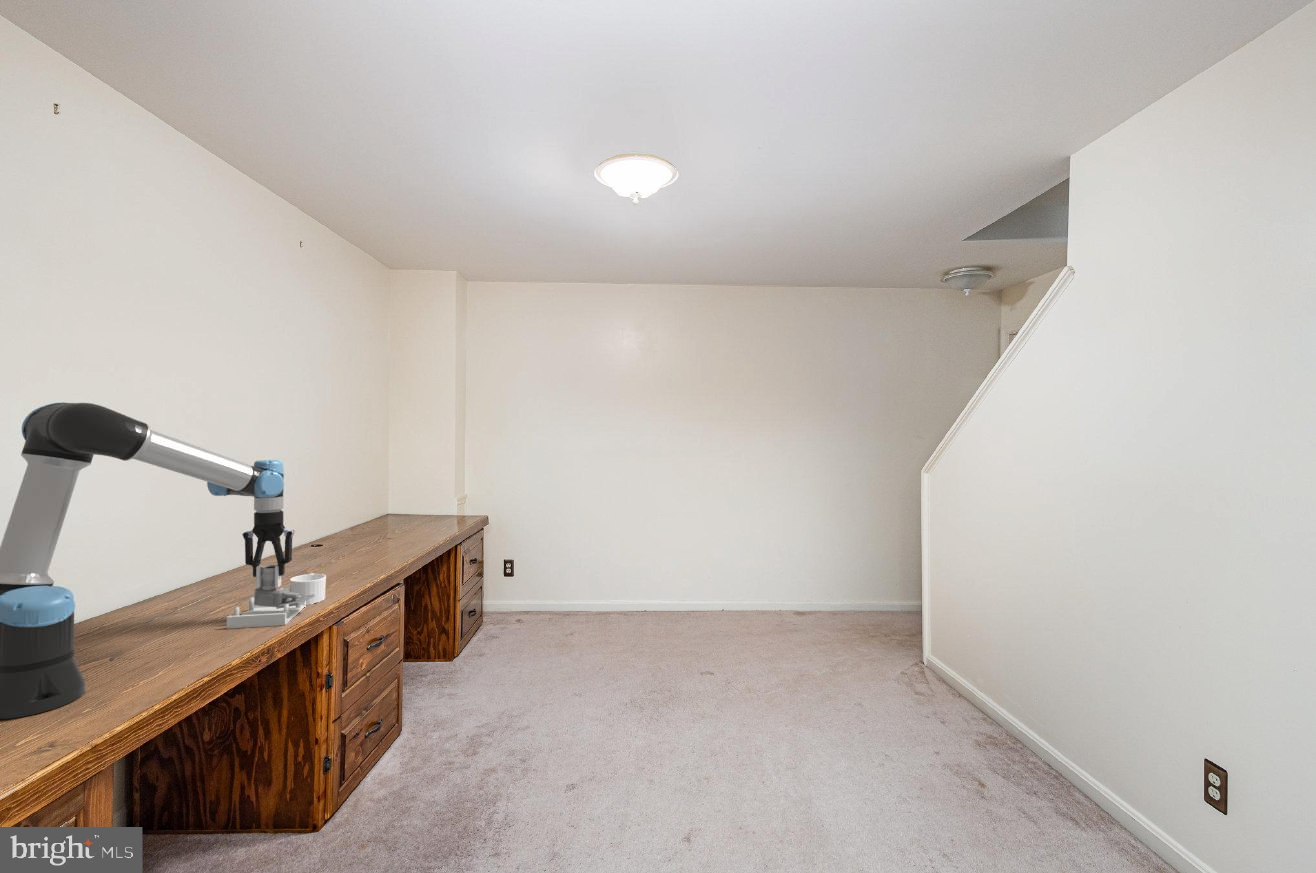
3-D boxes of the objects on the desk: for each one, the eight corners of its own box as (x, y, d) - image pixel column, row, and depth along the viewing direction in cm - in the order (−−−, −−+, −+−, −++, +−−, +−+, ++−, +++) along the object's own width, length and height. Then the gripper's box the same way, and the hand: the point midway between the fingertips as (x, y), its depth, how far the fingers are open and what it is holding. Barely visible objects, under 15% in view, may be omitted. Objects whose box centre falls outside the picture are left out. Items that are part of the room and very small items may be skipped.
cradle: (285, 625, 173) (285, 608, 173) (226, 628, 170) (226, 611, 170) (305, 607, 191) (305, 591, 191) (253, 609, 187) (253, 594, 187)
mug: (323, 604, 194) (323, 580, 194) (286, 607, 190) (286, 582, 190) (329, 593, 206) (329, 570, 206) (294, 596, 203) (294, 573, 202)
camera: (269, 562, 186) (316, 566, 186) (266, 598, 186) (314, 602, 186) (250, 569, 177) (300, 573, 177) (247, 607, 177) (297, 612, 177)
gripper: (304, 508, 186) (304, 582, 186) (241, 509, 181) (241, 585, 182) (296, 511, 178) (296, 588, 179) (230, 513, 174) (230, 591, 175)
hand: (268, 586), depth 180 cm, fingers closed on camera, 4 cm apart
